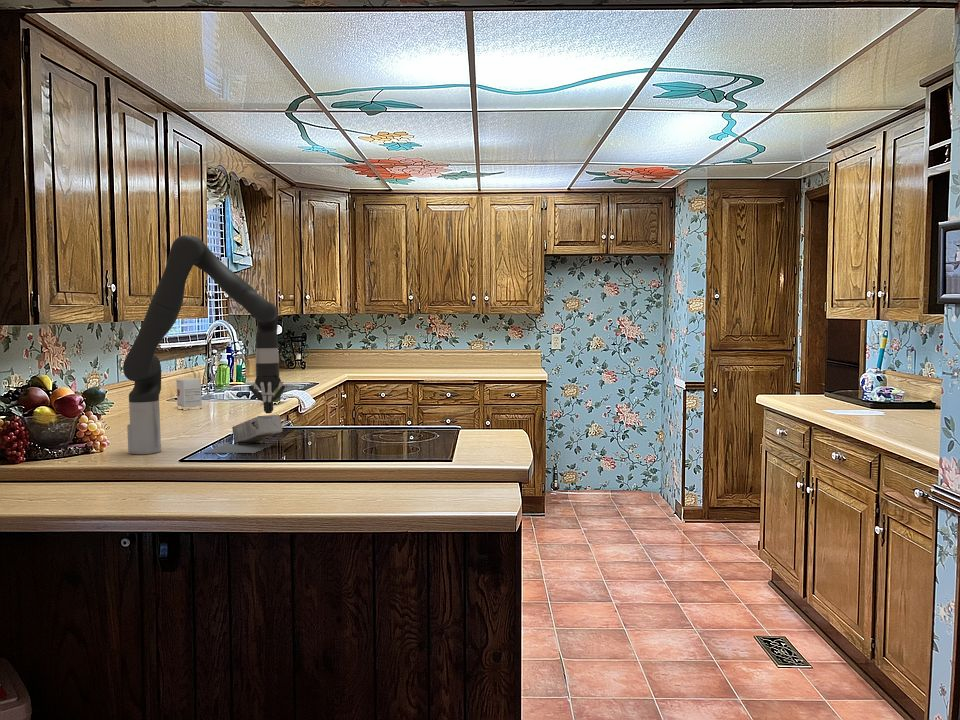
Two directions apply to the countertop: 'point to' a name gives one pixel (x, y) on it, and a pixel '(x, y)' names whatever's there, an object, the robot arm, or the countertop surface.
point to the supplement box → (189, 392)
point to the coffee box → (257, 429)
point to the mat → (238, 448)
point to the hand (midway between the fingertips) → (268, 413)
